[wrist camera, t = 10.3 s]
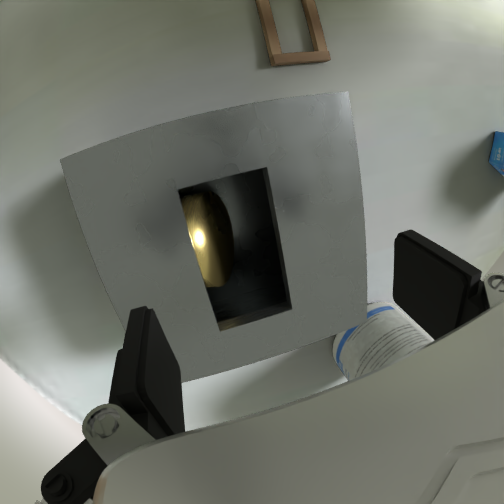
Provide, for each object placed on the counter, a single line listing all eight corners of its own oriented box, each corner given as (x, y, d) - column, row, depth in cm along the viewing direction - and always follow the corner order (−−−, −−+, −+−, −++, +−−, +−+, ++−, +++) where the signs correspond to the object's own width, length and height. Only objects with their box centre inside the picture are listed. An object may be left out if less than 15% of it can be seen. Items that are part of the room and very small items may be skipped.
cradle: (250, -20, 18) (253, -25, 17) (303, -20, 18) (308, -24, 17) (271, 66, 21) (275, 63, 20) (325, 61, 22) (330, 59, 21)
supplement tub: (315, 361, 33) (377, 462, 20) (356, 289, 31) (449, 379, 17) (372, 367, 36) (434, 446, 23) (410, 306, 34) (491, 377, 21)
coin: (180, 182, 21) (209, 248, 24) (142, 234, 16) (183, 307, 20) (214, 175, 20) (240, 245, 24) (181, 228, 15) (220, 306, 19)
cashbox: (101, 149, 20) (60, 159, 12) (290, 103, 22) (348, 91, 14) (158, 316, 26) (157, 388, 18) (316, 269, 28) (367, 321, 20)
